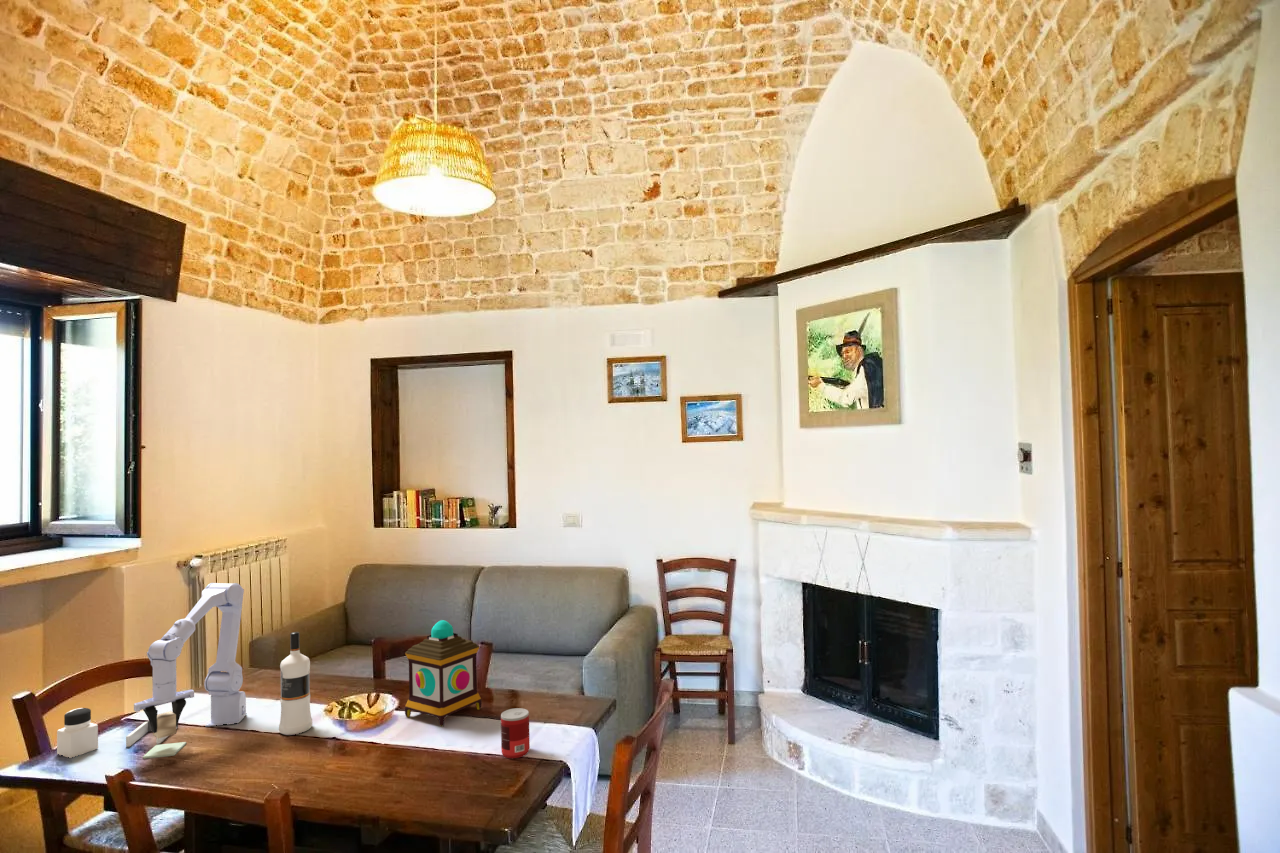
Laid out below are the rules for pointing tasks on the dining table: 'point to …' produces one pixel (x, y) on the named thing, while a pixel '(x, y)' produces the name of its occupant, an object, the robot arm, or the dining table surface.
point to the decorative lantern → (442, 674)
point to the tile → (164, 750)
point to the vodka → (295, 691)
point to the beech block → (165, 724)
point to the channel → (141, 734)
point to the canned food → (515, 733)
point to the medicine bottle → (77, 734)
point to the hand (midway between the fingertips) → (164, 728)
